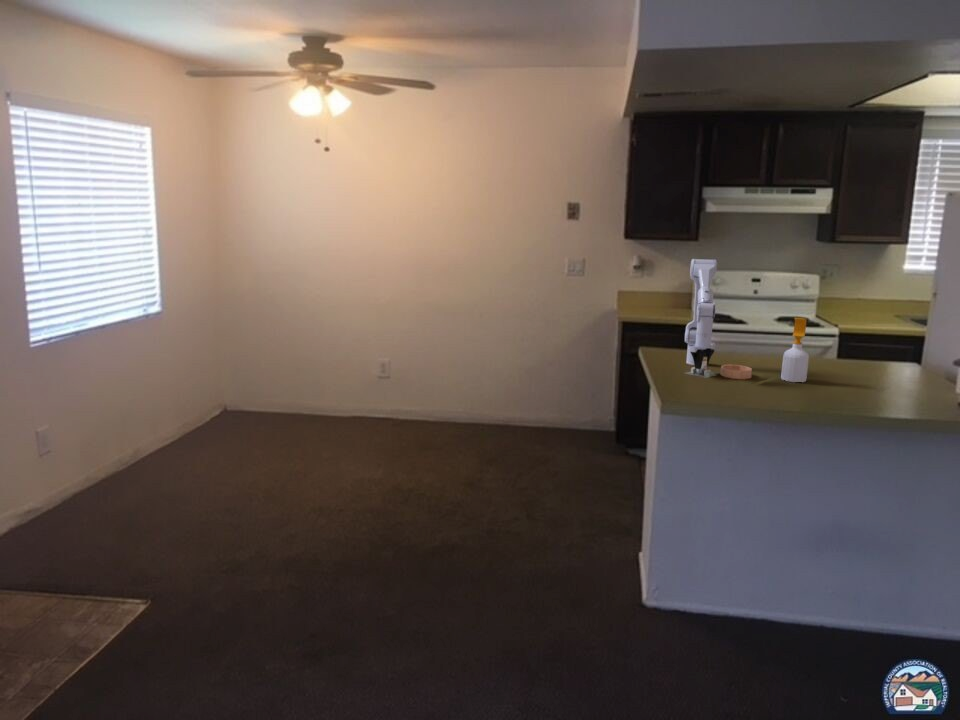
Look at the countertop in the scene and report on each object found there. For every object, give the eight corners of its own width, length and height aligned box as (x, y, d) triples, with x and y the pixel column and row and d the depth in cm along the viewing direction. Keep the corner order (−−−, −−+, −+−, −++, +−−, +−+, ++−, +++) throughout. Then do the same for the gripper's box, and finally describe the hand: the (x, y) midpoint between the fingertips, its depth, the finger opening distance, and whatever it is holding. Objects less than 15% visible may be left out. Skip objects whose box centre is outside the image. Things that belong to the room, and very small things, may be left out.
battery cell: (698, 372, 286) (700, 354, 284) (707, 374, 283) (709, 356, 281) (693, 373, 283) (694, 356, 281) (702, 375, 280) (703, 358, 278)
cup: (729, 373, 289) (730, 363, 289) (756, 378, 281) (757, 368, 281) (714, 377, 282) (715, 367, 281) (741, 382, 274) (742, 372, 273)
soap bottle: (779, 381, 278) (786, 317, 273) (782, 376, 286) (789, 314, 281) (804, 384, 274) (812, 320, 269) (806, 379, 282) (814, 316, 277)
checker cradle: (694, 372, 289) (695, 365, 289) (717, 377, 282) (717, 369, 281) (683, 375, 284) (683, 368, 283) (706, 380, 277) (706, 372, 276)
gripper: (703, 337, 272) (700, 372, 275) (723, 333, 281) (719, 367, 284) (686, 334, 277) (683, 369, 280) (706, 330, 286) (703, 364, 289)
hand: (700, 367), depth 282 cm, fingers closed on battery cell, 4 cm apart
